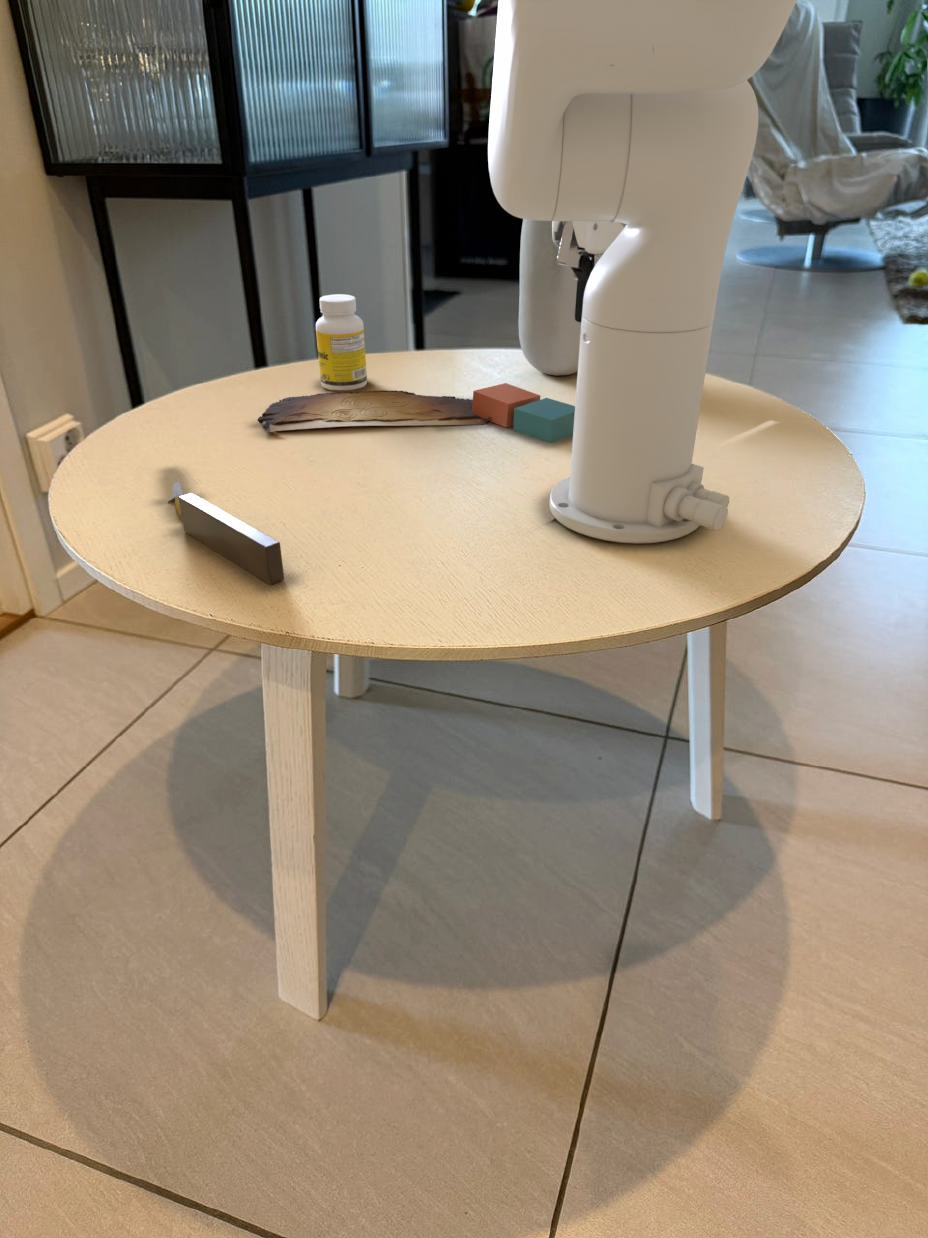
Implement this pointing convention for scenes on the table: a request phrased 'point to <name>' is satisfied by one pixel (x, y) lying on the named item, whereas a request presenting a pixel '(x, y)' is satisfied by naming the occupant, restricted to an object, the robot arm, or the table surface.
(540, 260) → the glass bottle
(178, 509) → the dagger
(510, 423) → the tile
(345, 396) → the parchment
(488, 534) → the table surface
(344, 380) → the supplement bottle
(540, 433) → the tile
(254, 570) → the stop bar
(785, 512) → the table surface
